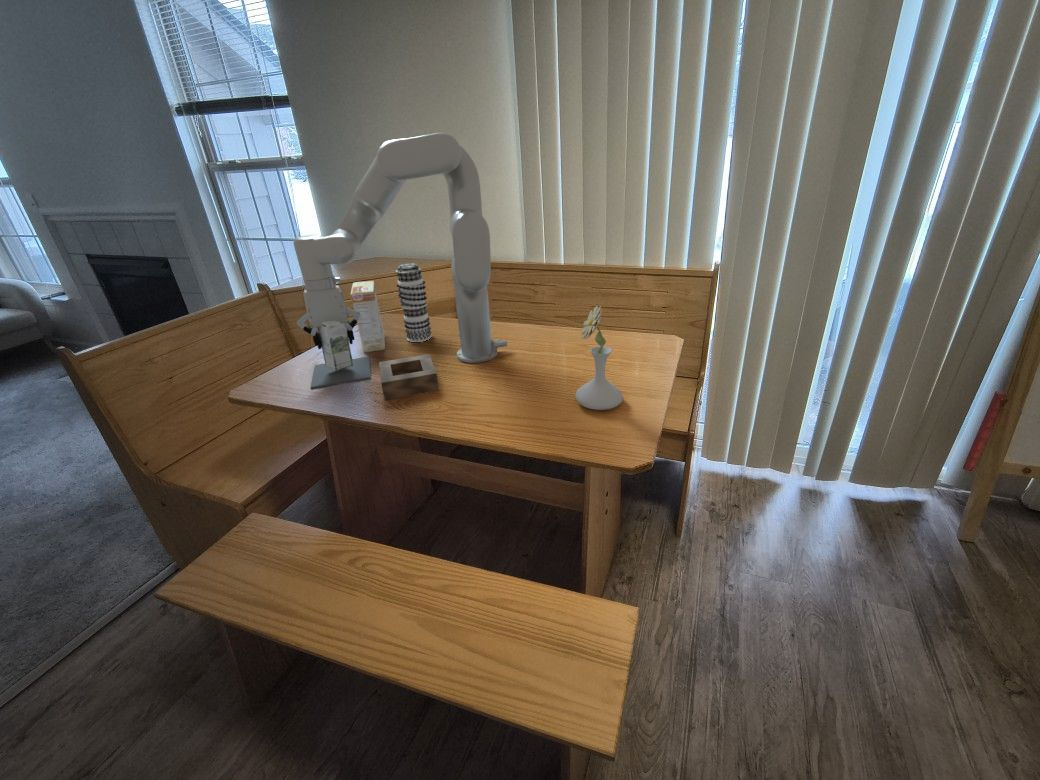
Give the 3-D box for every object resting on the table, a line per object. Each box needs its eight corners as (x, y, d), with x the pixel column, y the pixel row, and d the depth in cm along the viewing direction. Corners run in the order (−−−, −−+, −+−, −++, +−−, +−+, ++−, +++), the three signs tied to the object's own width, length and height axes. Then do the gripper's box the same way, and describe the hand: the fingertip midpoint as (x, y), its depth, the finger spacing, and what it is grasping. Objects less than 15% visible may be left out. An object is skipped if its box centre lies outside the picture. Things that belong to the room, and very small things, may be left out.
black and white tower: (434, 341, 152) (423, 266, 140) (406, 344, 150) (392, 269, 138) (432, 332, 160) (422, 260, 148) (405, 335, 158) (393, 263, 146)
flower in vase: (581, 389, 116) (583, 293, 104) (626, 395, 112) (633, 296, 101) (567, 413, 105) (568, 310, 94) (616, 421, 101) (623, 314, 90)
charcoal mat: (369, 358, 141) (369, 356, 141) (371, 378, 128) (370, 376, 127) (315, 366, 137) (314, 365, 137) (310, 389, 123) (310, 387, 123)
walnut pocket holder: (431, 369, 131) (429, 354, 129) (439, 390, 119) (436, 373, 117) (382, 378, 127) (378, 362, 125) (384, 400, 116) (381, 382, 113)
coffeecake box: (364, 337, 158) (352, 282, 149) (385, 334, 160) (374, 280, 151) (362, 352, 146) (349, 293, 137) (385, 349, 147) (373, 290, 138)
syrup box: (343, 361, 135) (334, 314, 128) (354, 365, 131) (344, 317, 125) (325, 366, 131) (314, 318, 124) (336, 372, 127) (325, 322, 121)
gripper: (354, 277, 126) (367, 336, 134) (286, 285, 121) (304, 345, 129) (354, 282, 119) (367, 344, 127) (283, 291, 115) (302, 354, 123)
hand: (335, 344), depth 128 cm, fingers closed on syrup box, 7 cm apart
